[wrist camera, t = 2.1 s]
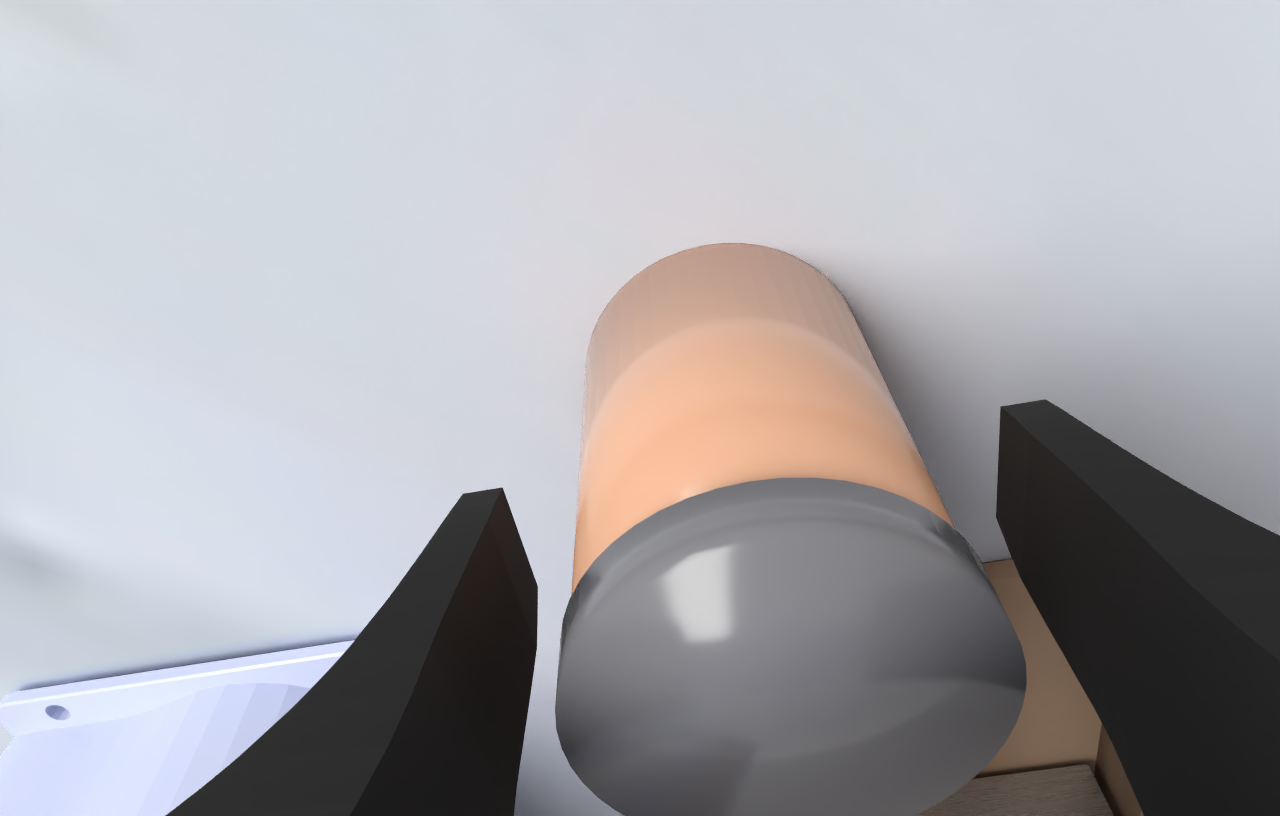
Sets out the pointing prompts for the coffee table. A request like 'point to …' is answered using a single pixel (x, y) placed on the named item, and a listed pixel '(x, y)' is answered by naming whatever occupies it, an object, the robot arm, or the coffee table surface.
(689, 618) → the jar
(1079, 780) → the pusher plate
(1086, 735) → the pusher lane
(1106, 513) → the robot arm
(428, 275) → the coffee table surface
